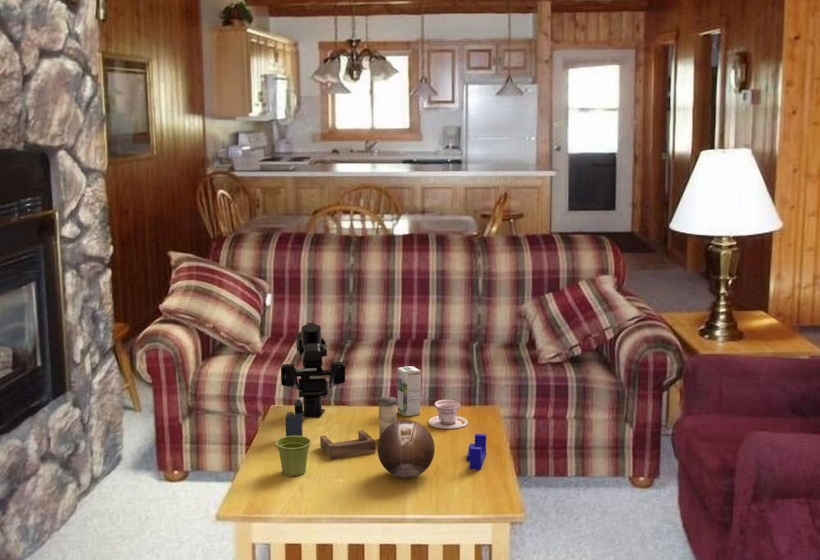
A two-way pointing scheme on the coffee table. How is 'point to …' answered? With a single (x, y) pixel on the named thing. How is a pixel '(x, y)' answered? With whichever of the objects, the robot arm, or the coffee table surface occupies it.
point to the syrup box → (409, 391)
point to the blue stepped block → (477, 452)
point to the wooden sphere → (406, 449)
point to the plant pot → (293, 454)
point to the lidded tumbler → (386, 412)
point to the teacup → (447, 415)
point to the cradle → (348, 446)
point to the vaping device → (295, 421)
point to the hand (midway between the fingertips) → (314, 387)
